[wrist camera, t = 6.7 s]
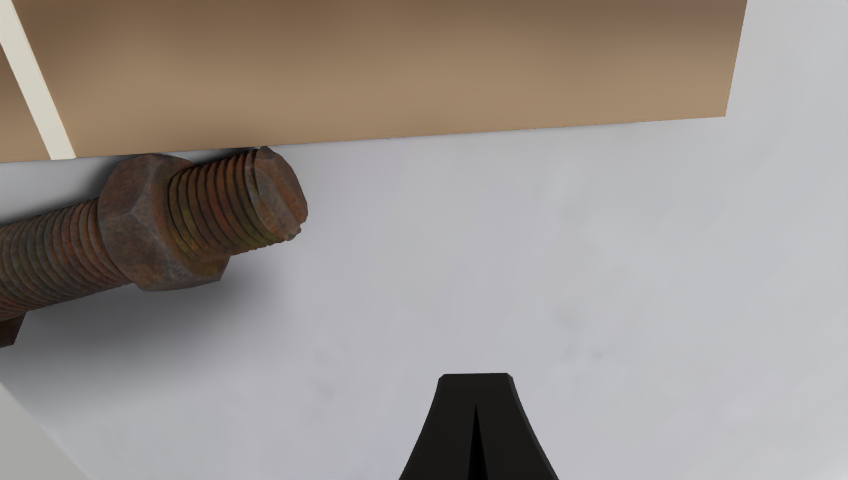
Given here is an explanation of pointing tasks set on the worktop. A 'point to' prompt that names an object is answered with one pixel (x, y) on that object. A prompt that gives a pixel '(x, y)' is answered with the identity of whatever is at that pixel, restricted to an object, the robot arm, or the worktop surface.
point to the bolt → (149, 231)
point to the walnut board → (347, 70)
